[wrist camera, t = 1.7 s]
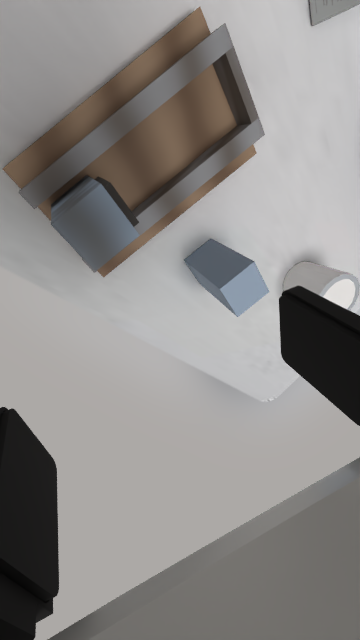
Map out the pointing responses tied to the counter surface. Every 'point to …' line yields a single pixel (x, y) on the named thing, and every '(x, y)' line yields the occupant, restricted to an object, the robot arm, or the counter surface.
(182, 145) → the rail
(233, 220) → the counter surface
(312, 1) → the small box
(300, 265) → the white cup
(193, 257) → the blue-grey block
